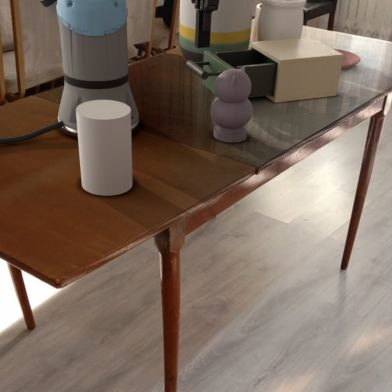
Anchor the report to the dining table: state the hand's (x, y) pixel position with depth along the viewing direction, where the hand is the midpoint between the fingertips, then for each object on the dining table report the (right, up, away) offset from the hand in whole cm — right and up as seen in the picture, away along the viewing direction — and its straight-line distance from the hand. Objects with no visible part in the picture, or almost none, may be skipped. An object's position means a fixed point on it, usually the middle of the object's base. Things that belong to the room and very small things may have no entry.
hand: (202, 46), depth 127 cm
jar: (+18, +8, +27) cm, 33 cm away
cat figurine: (+5, -21, -8) cm, 23 cm away
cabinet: (+20, -3, +14) cm, 25 cm away
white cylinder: (-16, -35, -25) cm, 46 cm away
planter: (+19, +18, +39) cm, 47 cm away
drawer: (+7, -5, +9) cm, 12 cm away
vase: (+3, +8, +26) cm, 28 cm away
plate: (+32, +9, +29) cm, 45 cm away
